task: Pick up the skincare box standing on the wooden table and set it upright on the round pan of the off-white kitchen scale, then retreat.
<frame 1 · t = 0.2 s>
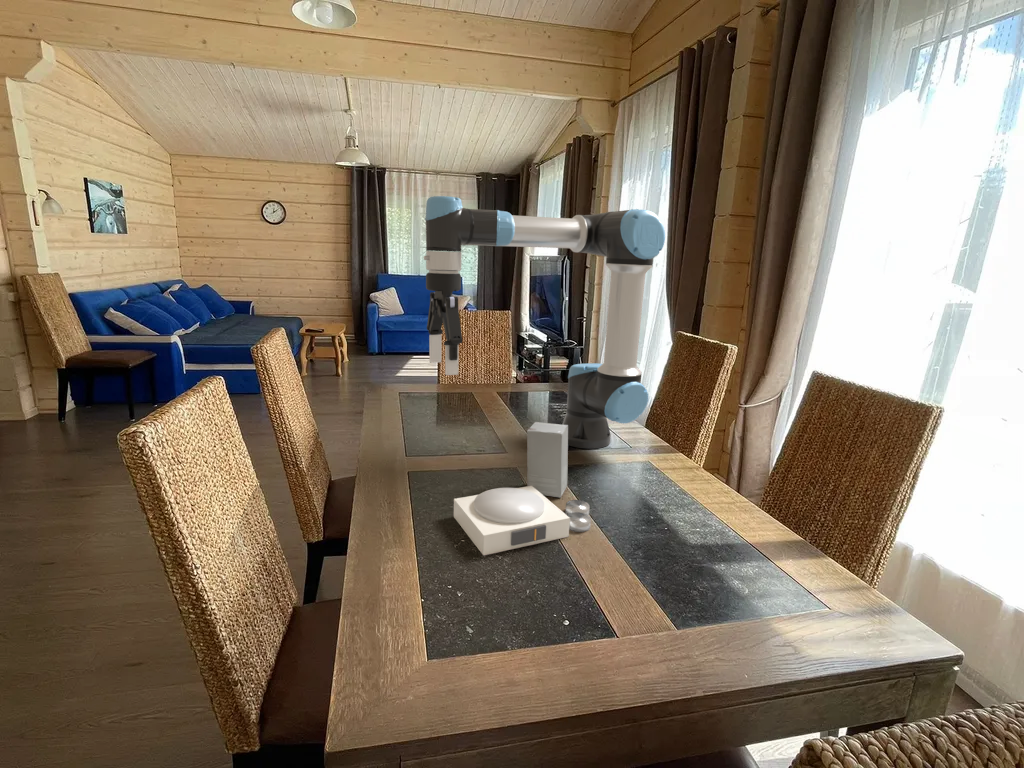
hand: (443, 368, 123), 28 cm above the table, fingers open, 13 cm apart
spacer b: (577, 526, 111), on the table
scale: (509, 526, 109), on the table
spacer a: (577, 513, 116), on the table
skincare box: (545, 491, 126), on the table
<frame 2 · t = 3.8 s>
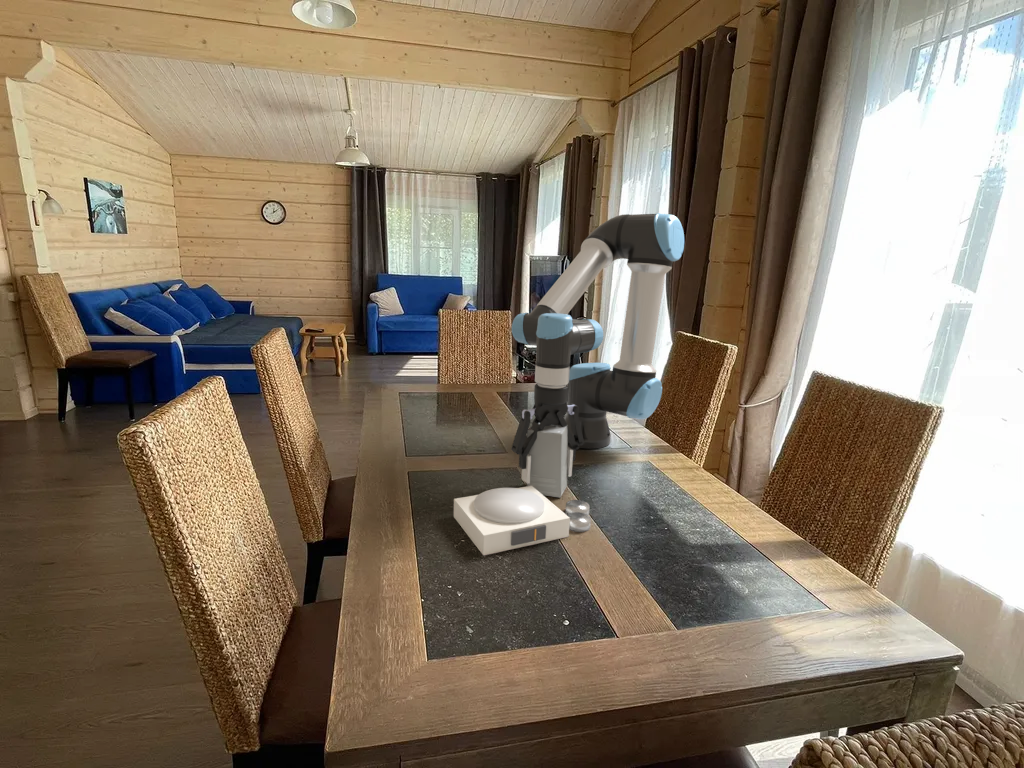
hand: (546, 477, 126), 3 cm above the table, fingers closed on skincare box, 10 cm apart
skincare box: (545, 491, 126), on the table, touching gripper
everything else where it was.
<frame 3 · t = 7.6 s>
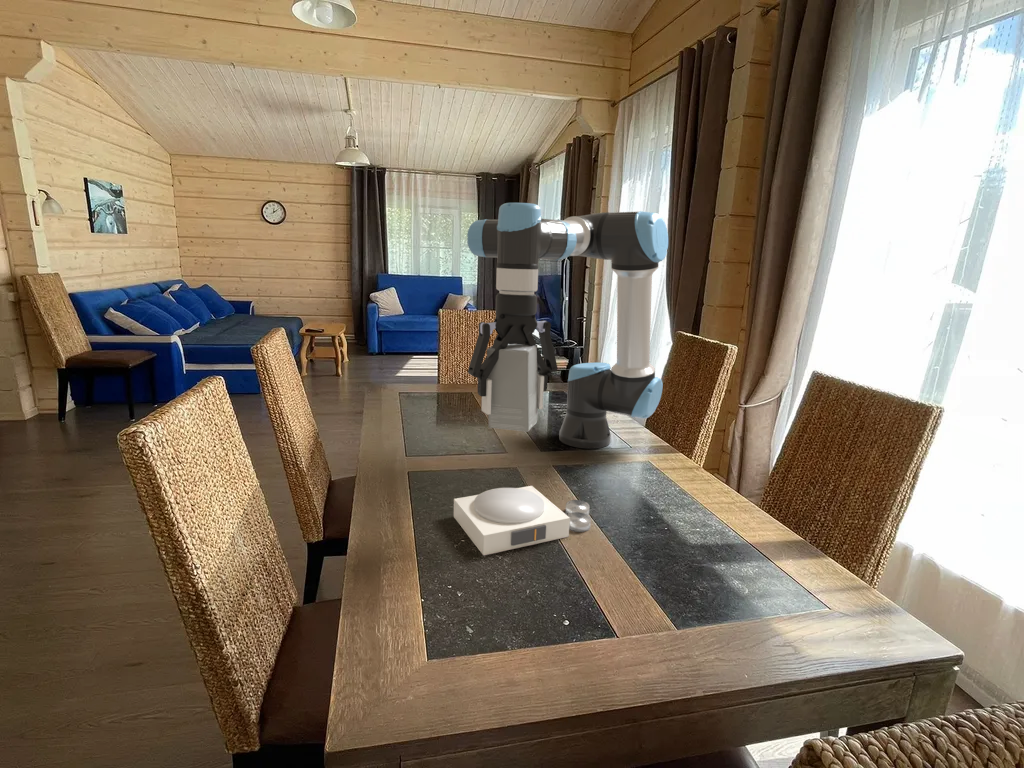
hand: (512, 409, 104), 24 cm above the table, fingers closed on skincare box, 10 cm apart
skincare box: (511, 427, 105), point 21 cm above the table, touching gripper
everything else where it was.
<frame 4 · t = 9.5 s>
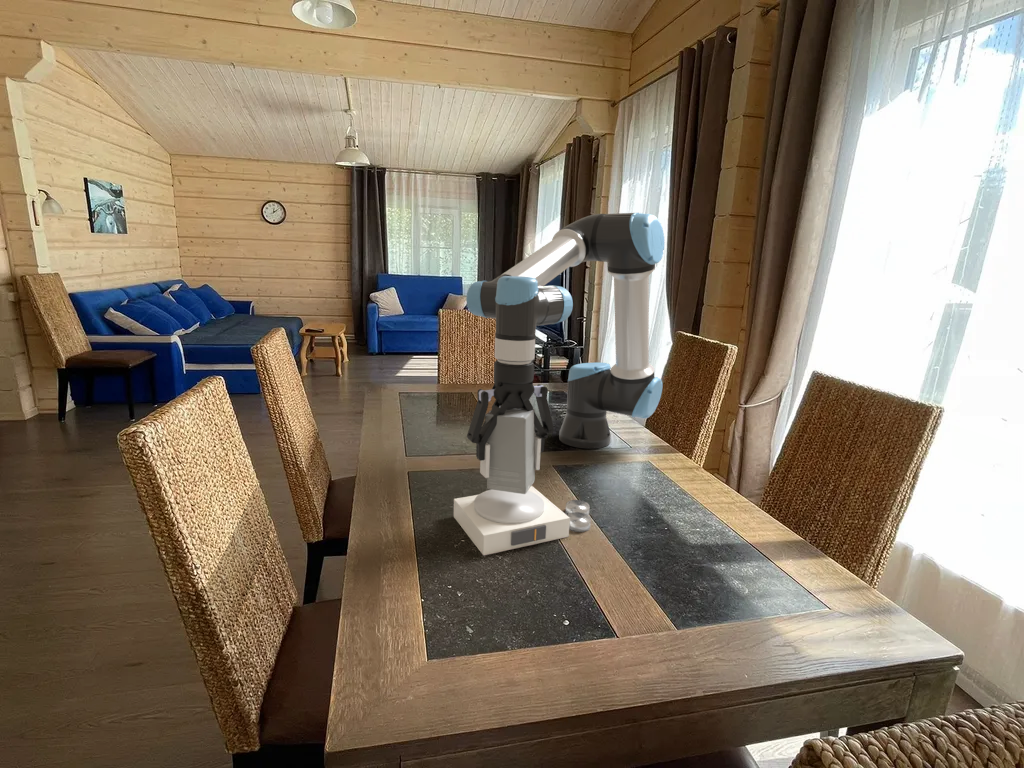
hand: (510, 471, 107), 12 cm above the table, fingers closed on skincare box, 10 cm apart
skincare box: (509, 487, 108), point 8 cm above the table, touching gripper
everything else where it was.
when the fingers open (9 cm above the table, at t = 11.2 s): skincare box stays where it is, resting on scale.
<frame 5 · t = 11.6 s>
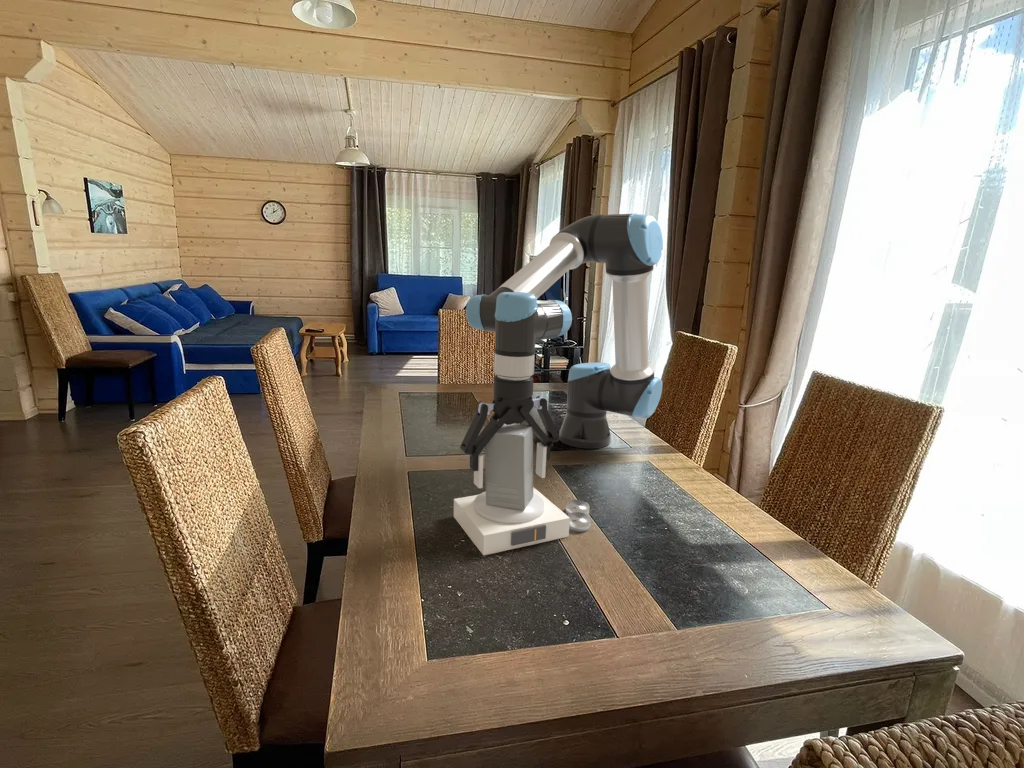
hand: (510, 480, 108), 10 cm above the table, fingers open, 13 cm apart
skincare box: (508, 503, 109), point 5 cm above the table, touching scale
everything else where it was.
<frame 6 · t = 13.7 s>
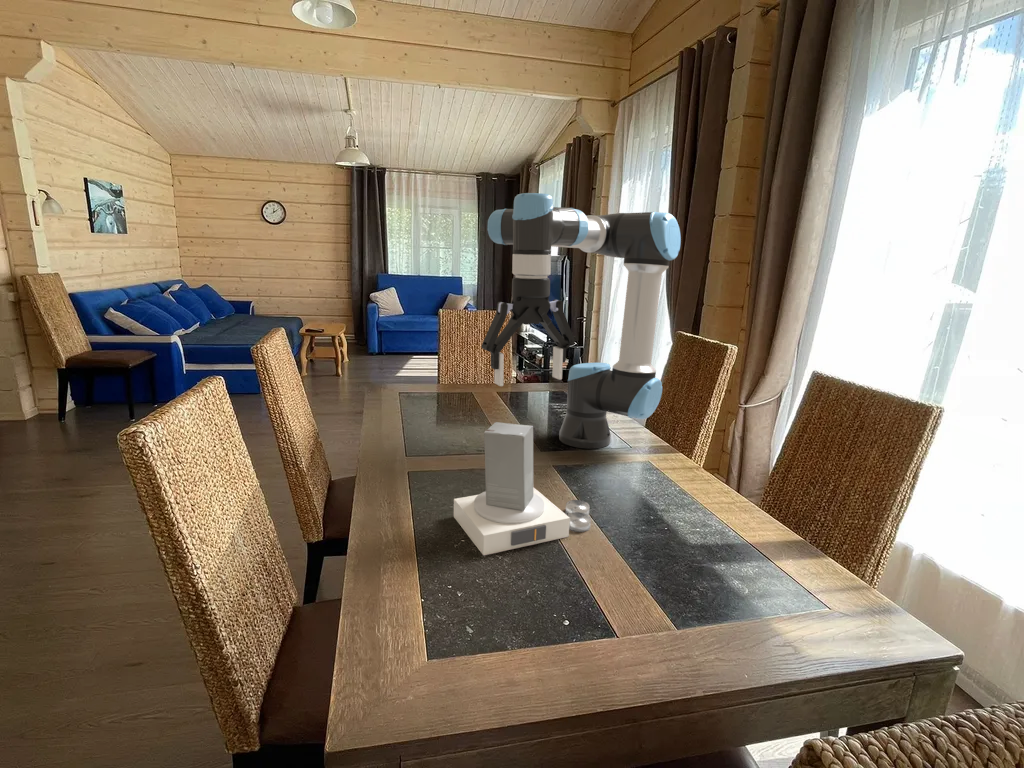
hand: (528, 381, 113), 28 cm above the table, fingers open, 13 cm apart
nothing on the table moved.
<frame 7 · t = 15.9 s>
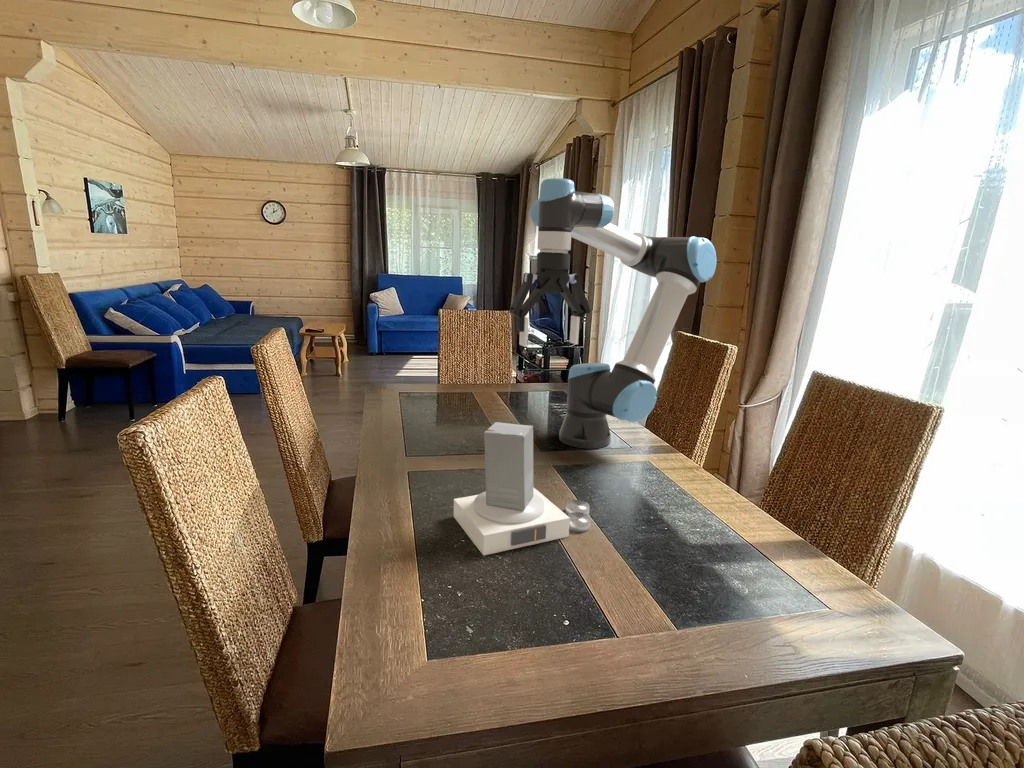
hand: (549, 344, 128), 33 cm above the table, fingers open, 13 cm apart
nothing on the table moved.
at the end: skincare box inside the target area on the scale (0.2 cm from its centre), point 4.8 cm above the scale's base; skincare box tilted 0°; the gripper is holding nothing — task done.
